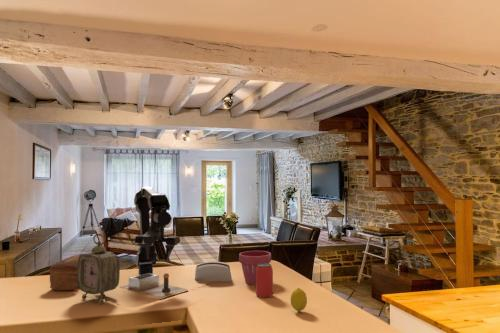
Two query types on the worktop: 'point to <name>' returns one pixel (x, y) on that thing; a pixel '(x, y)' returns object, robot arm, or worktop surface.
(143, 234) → the robot arm
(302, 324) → the worktop surface
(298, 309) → the lemon
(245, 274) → the plant pot
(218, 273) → the grey rounded block
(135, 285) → the hollow metal box
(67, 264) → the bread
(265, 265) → the beer can
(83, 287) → the tabletop clock
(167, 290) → the board
